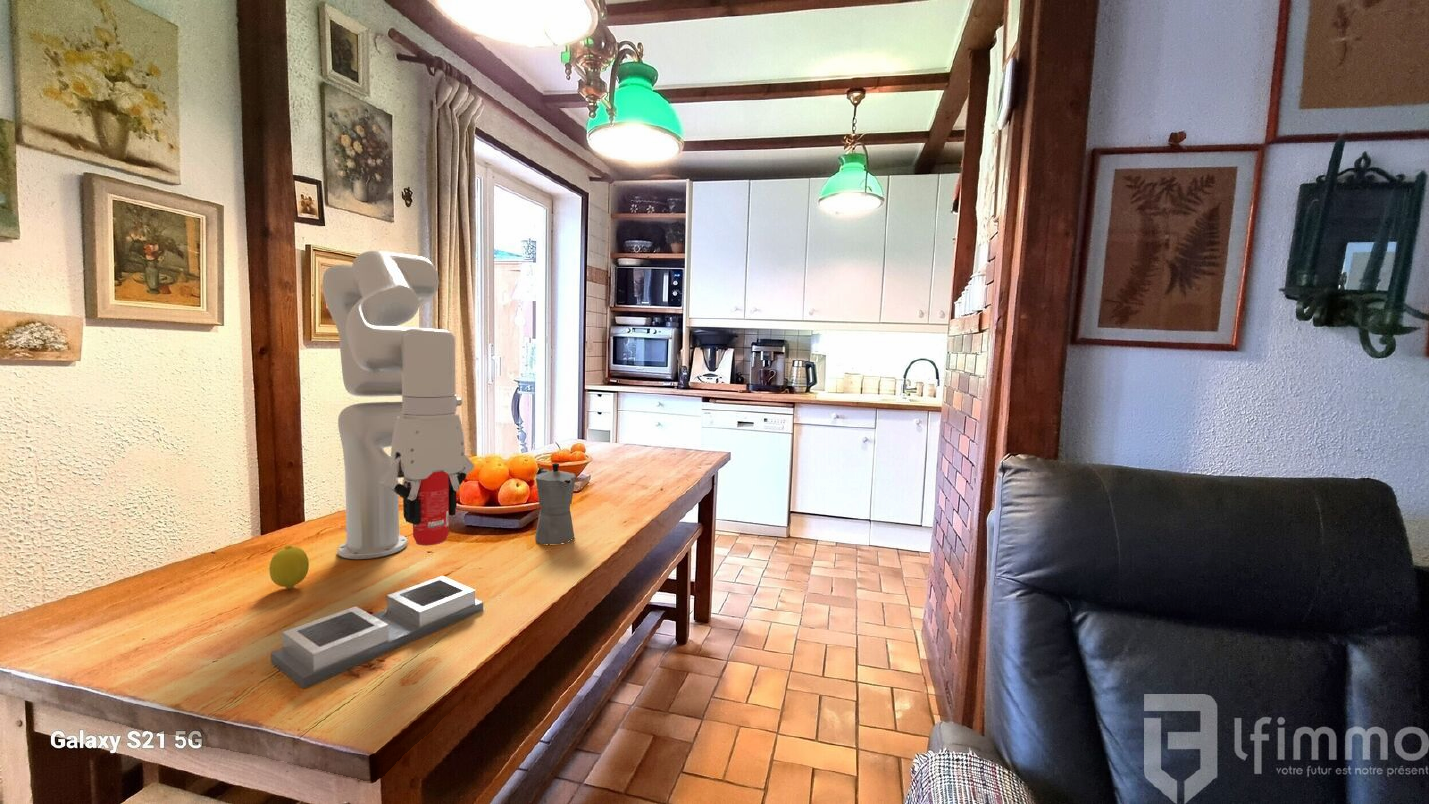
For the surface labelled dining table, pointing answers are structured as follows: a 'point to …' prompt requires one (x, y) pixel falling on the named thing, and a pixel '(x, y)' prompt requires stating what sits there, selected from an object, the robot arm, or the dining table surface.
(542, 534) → the coffeepot
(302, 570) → the lemon
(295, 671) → the socket rail
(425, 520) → the beverage can
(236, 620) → the dining table surface
